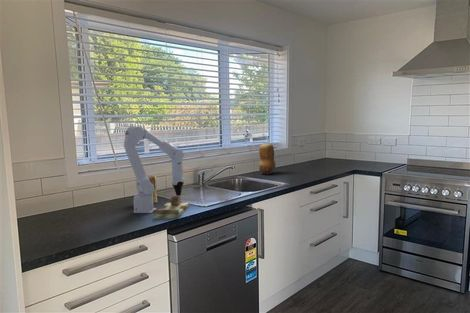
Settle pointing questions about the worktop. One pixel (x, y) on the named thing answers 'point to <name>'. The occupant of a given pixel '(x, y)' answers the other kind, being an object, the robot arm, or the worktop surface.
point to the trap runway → (171, 211)
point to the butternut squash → (266, 158)
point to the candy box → (153, 181)
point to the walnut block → (175, 201)
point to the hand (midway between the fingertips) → (178, 195)
